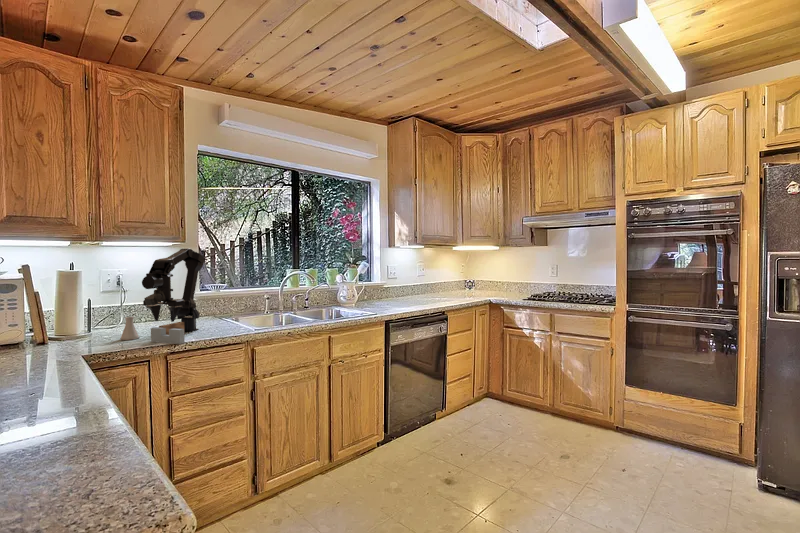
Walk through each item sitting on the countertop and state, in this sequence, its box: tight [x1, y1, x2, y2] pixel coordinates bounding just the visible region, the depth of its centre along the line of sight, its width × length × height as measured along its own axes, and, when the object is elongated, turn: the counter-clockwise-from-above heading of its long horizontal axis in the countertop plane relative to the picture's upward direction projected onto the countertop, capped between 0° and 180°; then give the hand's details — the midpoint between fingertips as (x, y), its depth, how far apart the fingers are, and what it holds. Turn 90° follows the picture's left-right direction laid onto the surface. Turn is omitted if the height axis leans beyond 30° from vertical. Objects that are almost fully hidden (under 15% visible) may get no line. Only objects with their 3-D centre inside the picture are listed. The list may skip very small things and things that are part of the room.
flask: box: [120, 316, 140, 341], centre depth 189 cm, size 7×7×10 cm
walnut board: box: [158, 321, 184, 335], centre depth 193 cm, size 12×2×6 cm, turn 162°
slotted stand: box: [150, 326, 185, 345], centre depth 181 cm, size 2×16×6 cm, turn 73°
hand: (164, 321), depth 189 cm, fingers open, 9 cm apart
